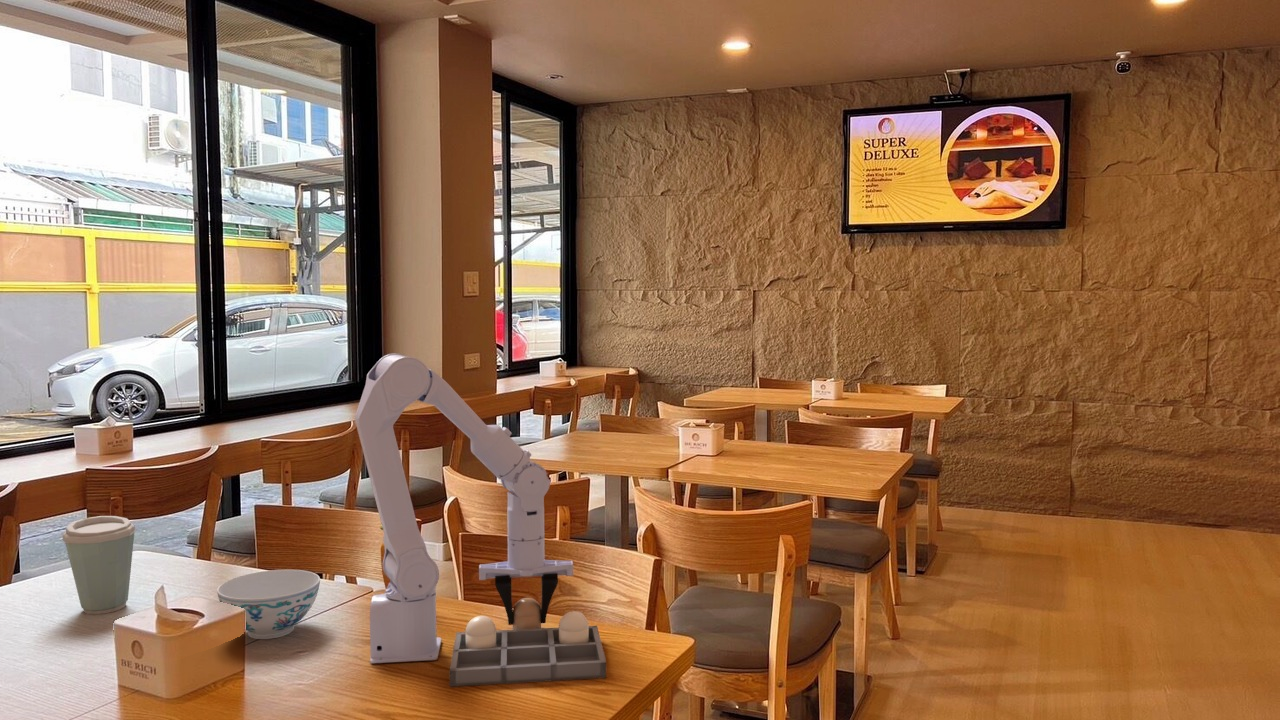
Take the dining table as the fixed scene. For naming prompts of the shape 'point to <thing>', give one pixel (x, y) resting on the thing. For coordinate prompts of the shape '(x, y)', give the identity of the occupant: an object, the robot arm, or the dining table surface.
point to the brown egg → (526, 614)
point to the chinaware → (271, 599)
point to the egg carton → (527, 653)
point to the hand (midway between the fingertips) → (527, 621)
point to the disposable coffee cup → (101, 561)
